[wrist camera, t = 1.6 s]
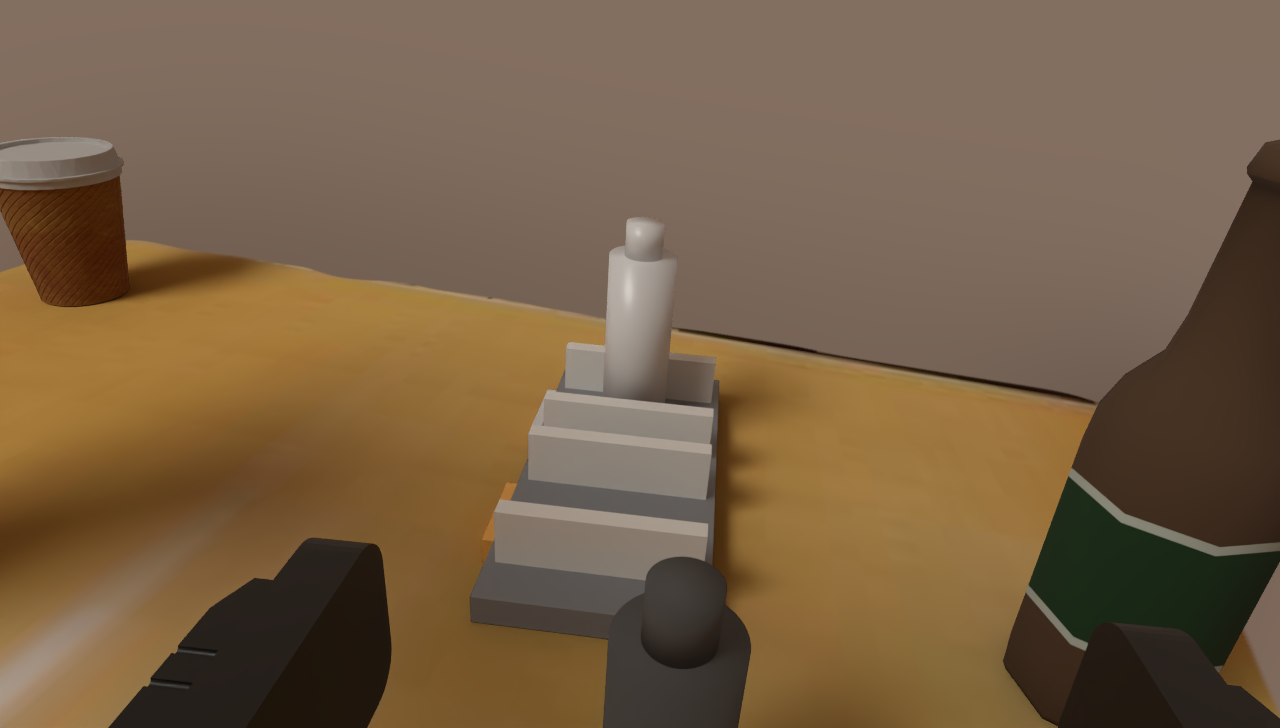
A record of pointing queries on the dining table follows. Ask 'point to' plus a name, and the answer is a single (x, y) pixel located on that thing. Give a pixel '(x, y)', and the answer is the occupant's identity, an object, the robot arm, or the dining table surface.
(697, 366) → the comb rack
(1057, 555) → the beer bottle
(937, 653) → the dining table surface
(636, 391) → the white bottle
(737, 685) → the dark grey bottle
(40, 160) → the disposable coffee cup
